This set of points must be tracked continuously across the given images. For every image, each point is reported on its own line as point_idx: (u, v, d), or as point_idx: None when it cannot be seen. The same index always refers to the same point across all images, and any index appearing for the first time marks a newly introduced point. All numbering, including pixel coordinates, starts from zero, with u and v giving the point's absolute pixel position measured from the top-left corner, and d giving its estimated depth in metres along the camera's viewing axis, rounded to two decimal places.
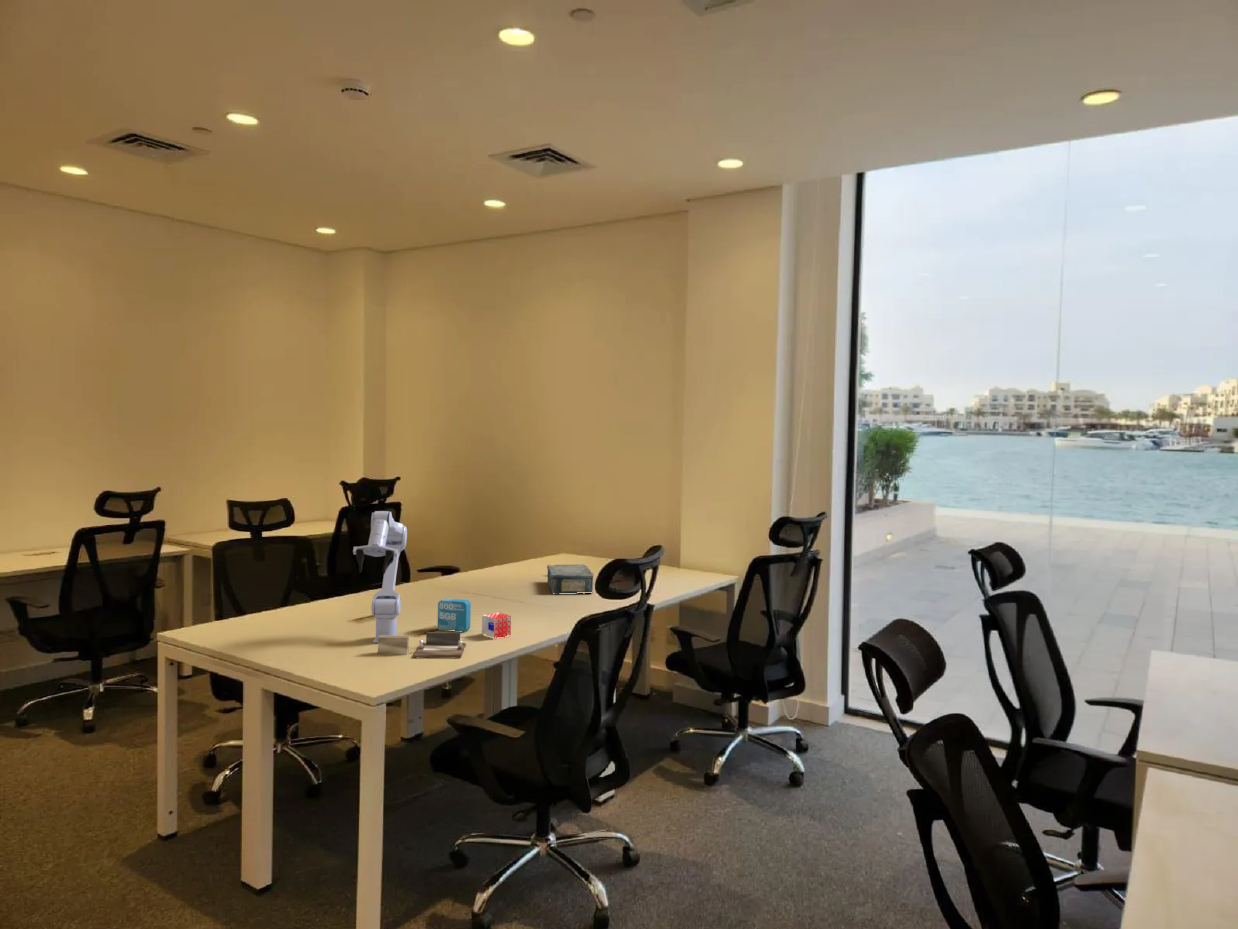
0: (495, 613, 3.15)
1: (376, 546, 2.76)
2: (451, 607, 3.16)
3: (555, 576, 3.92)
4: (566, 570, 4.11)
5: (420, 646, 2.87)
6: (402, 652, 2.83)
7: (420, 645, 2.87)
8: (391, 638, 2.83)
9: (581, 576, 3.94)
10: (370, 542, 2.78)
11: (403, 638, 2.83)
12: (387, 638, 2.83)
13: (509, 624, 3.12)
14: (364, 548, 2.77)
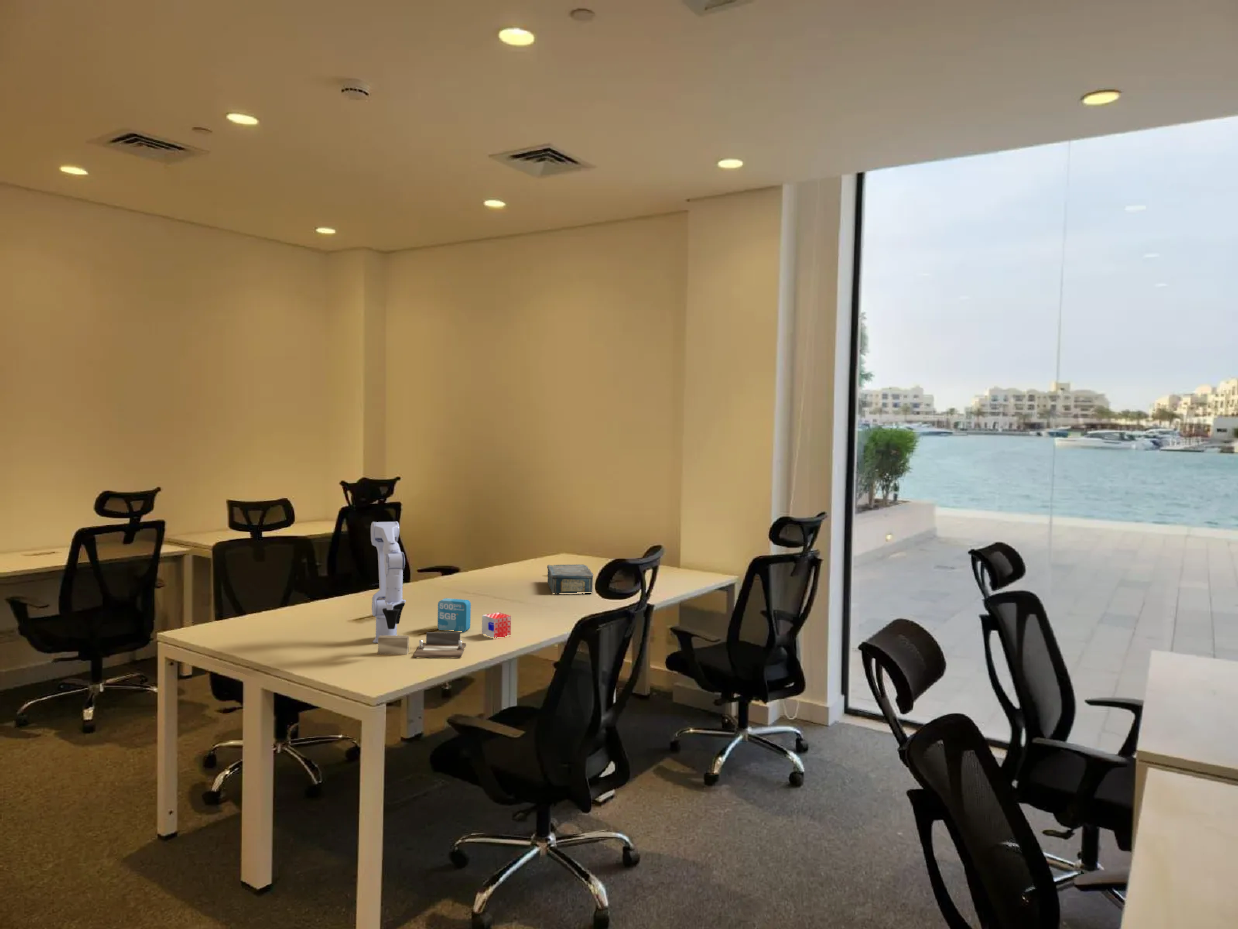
0: (495, 613, 3.15)
1: None
2: (451, 607, 3.16)
3: (555, 576, 3.92)
4: (566, 570, 4.11)
5: (420, 646, 2.87)
6: (402, 652, 2.83)
7: (420, 645, 2.87)
8: (391, 638, 2.83)
9: (581, 576, 3.94)
10: (398, 597, 2.82)
11: (403, 638, 2.83)
12: (387, 638, 2.83)
13: (509, 624, 3.12)
14: (395, 604, 2.80)
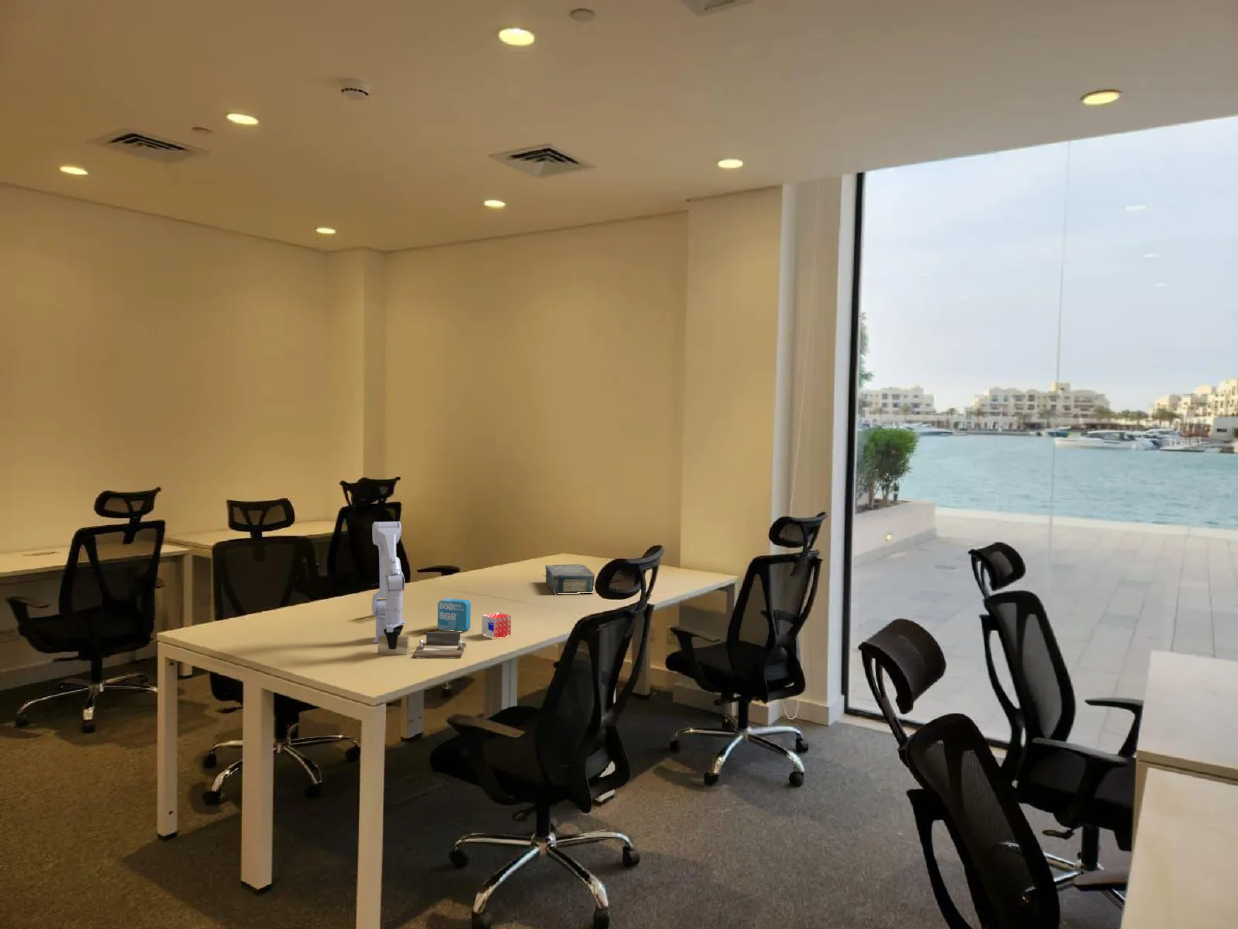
0: (495, 613, 3.15)
1: None
2: (451, 607, 3.16)
3: (557, 576, 3.92)
4: (566, 570, 4.11)
5: (420, 646, 2.87)
6: (402, 652, 2.83)
7: (420, 645, 2.87)
8: None
9: (583, 576, 3.94)
10: (398, 619, 2.82)
11: (403, 638, 2.83)
12: None
13: (509, 624, 3.12)
14: None
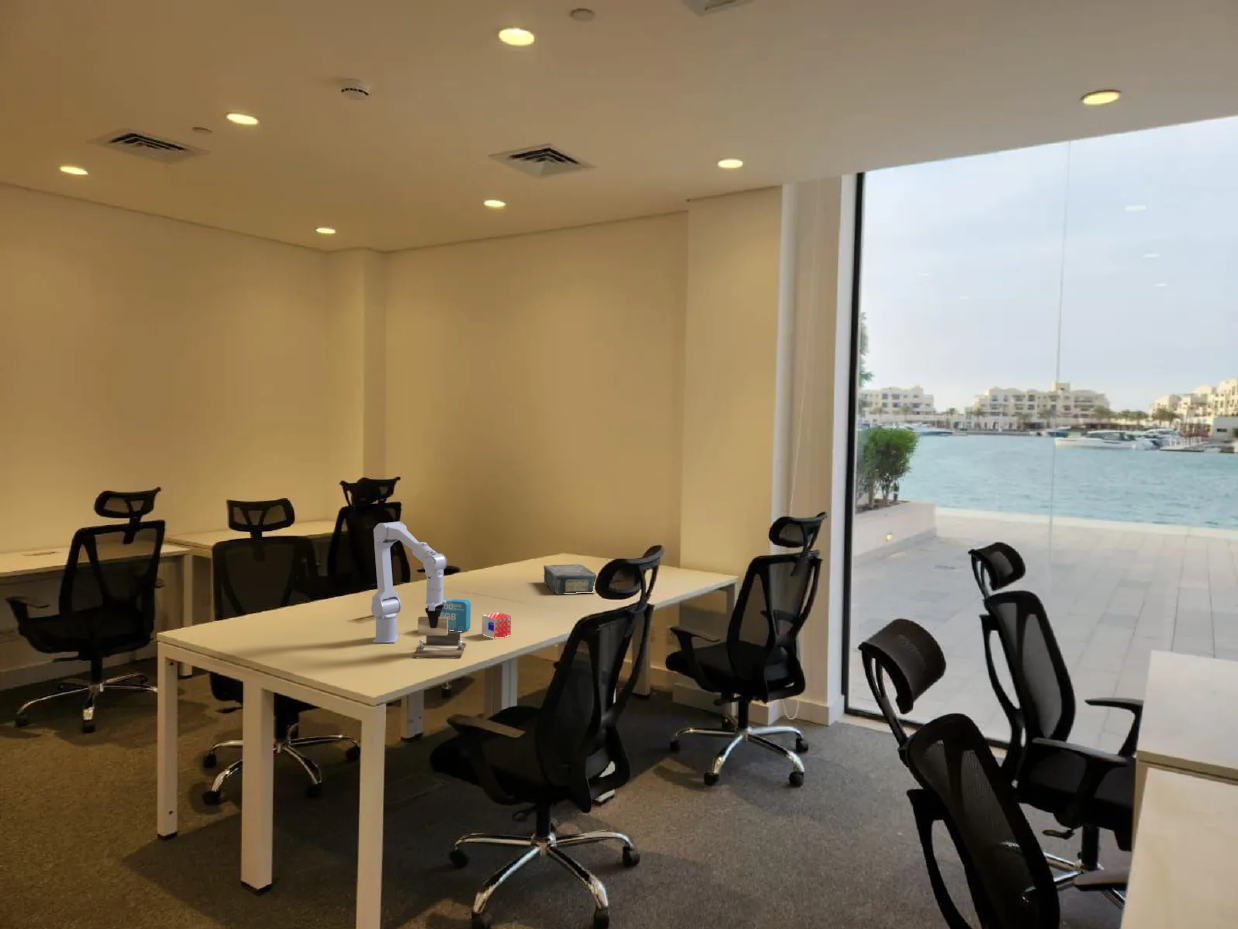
0: (495, 613, 3.15)
1: None
2: (451, 607, 3.16)
3: (559, 576, 3.91)
4: (565, 570, 4.10)
5: (420, 646, 2.87)
6: (442, 633, 2.86)
7: (420, 645, 2.87)
8: None
9: (585, 576, 3.95)
10: (439, 598, 2.85)
11: (443, 619, 2.86)
12: (427, 619, 2.85)
13: (509, 624, 3.12)
14: None
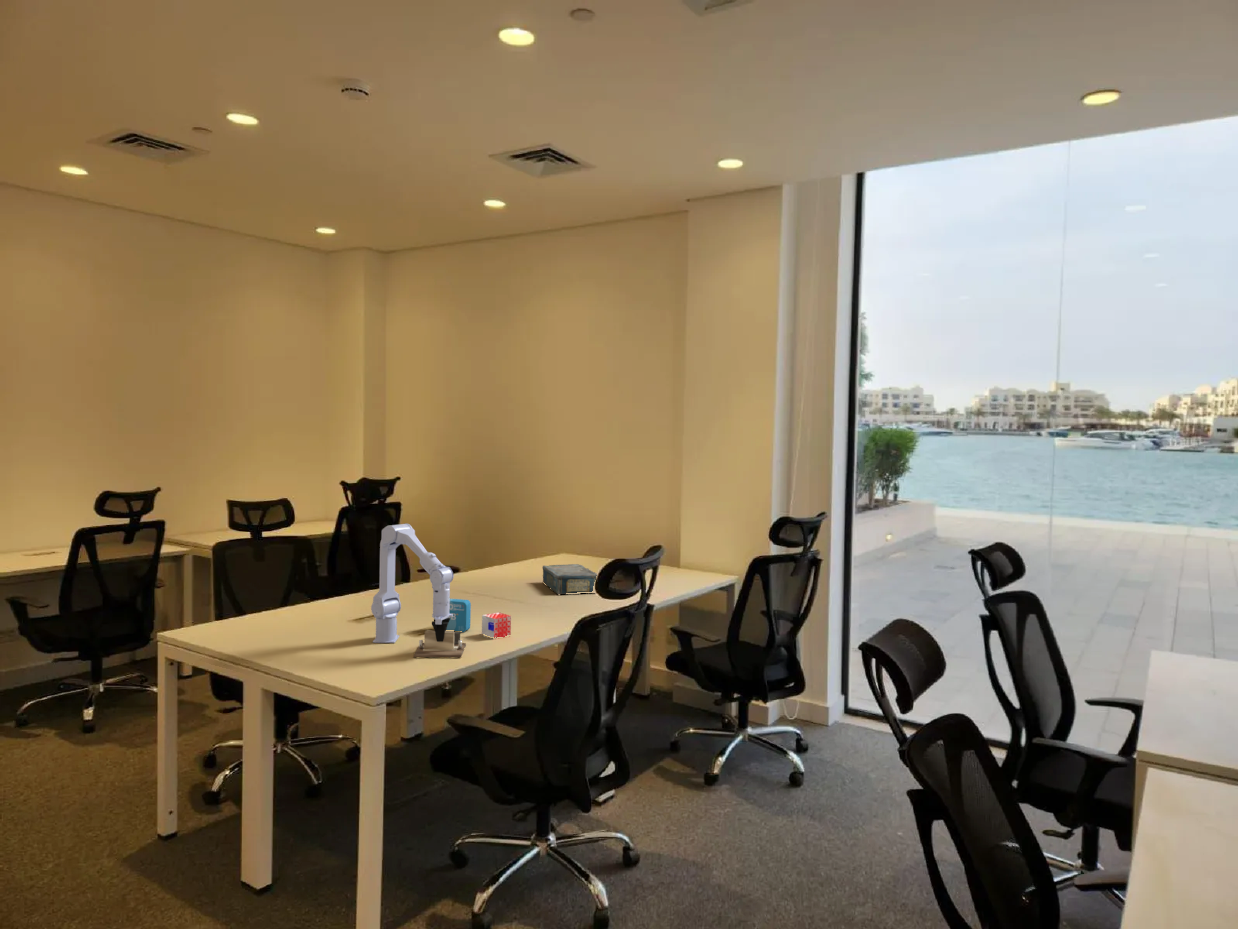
0: (495, 613, 3.15)
1: None
2: (451, 607, 3.16)
3: (561, 576, 3.91)
4: (565, 570, 4.10)
5: (420, 646, 2.87)
6: (448, 647, 2.87)
7: (420, 645, 2.87)
8: None
9: (586, 576, 3.95)
10: (446, 611, 2.86)
11: (449, 633, 2.86)
12: (433, 633, 2.86)
13: (509, 624, 3.12)
14: (443, 619, 2.84)
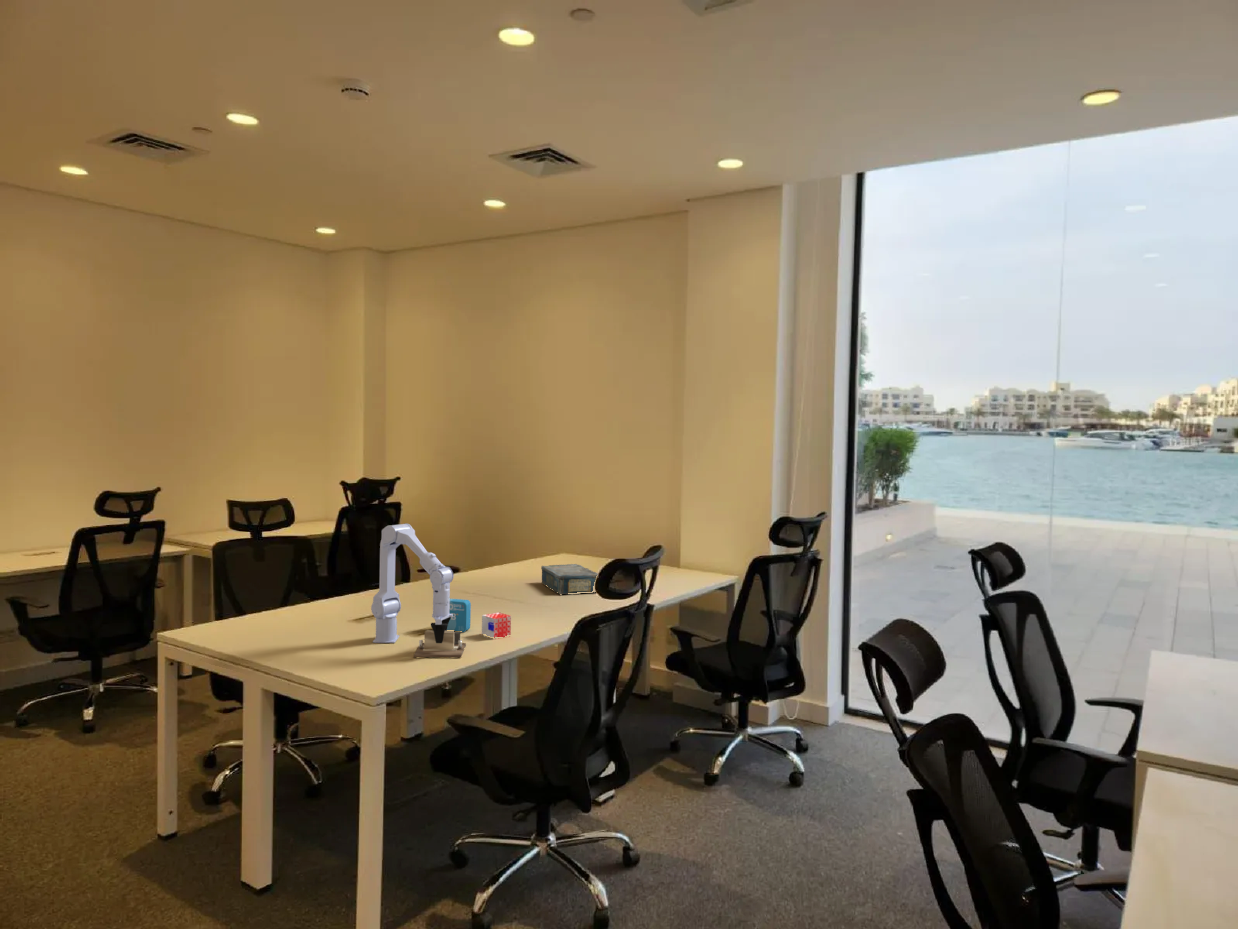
0: (495, 613, 3.15)
1: None
2: (451, 607, 3.16)
3: (562, 577, 3.91)
4: (565, 570, 4.10)
5: (420, 646, 2.87)
6: (448, 647, 2.87)
7: (420, 645, 2.87)
8: None
9: (587, 576, 3.95)
10: (446, 611, 2.86)
11: (449, 633, 2.86)
12: (433, 633, 2.86)
13: (509, 624, 3.12)
14: (443, 619, 2.84)
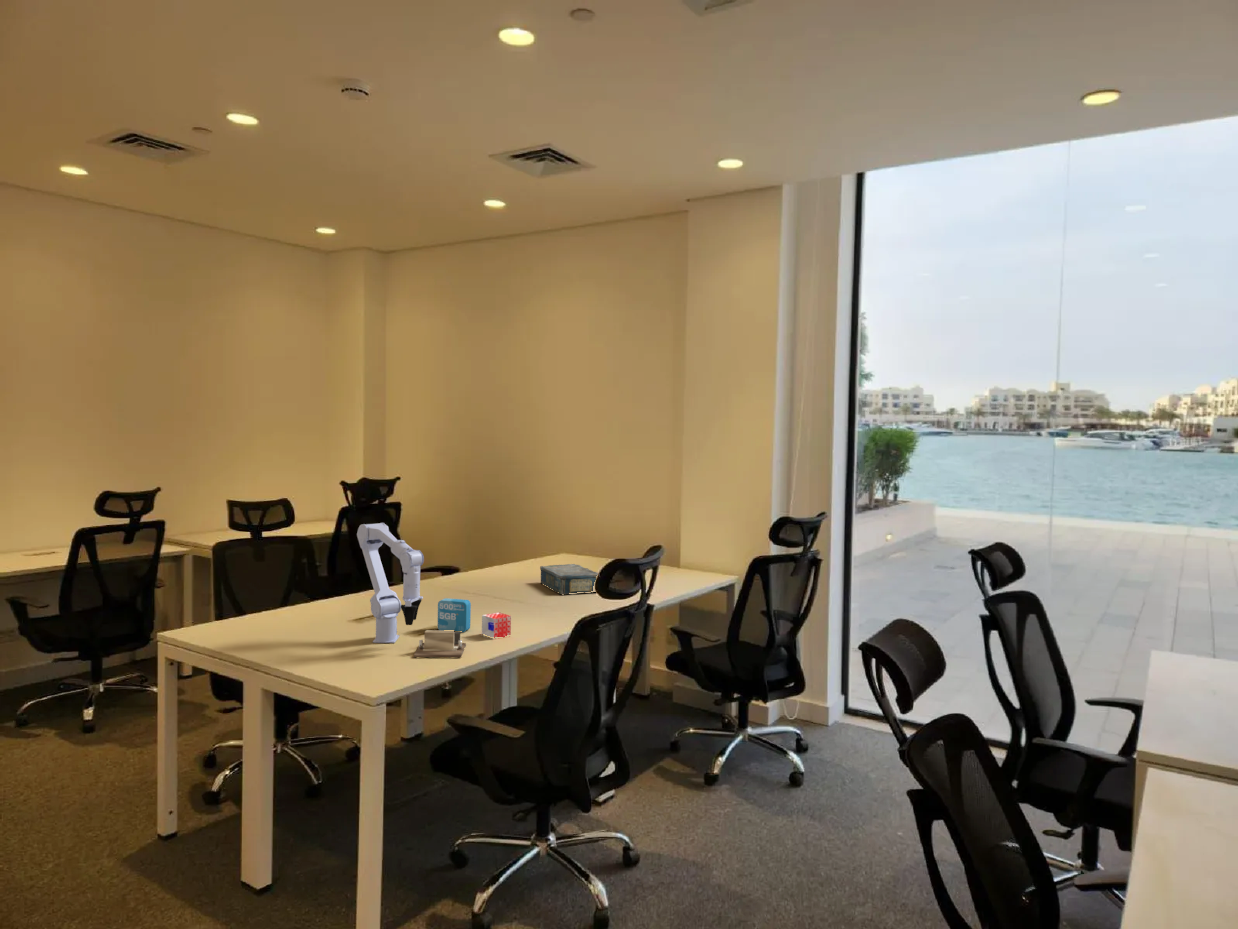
0: (495, 613, 3.15)
1: None
2: (451, 607, 3.16)
3: (564, 577, 3.91)
4: (565, 570, 4.10)
5: (420, 646, 2.87)
6: (448, 647, 2.87)
7: (420, 645, 2.87)
8: (437, 633, 2.86)
9: (588, 575, 3.96)
10: (416, 594, 2.89)
11: (449, 633, 2.86)
12: (433, 633, 2.86)
13: (509, 624, 3.12)
14: None
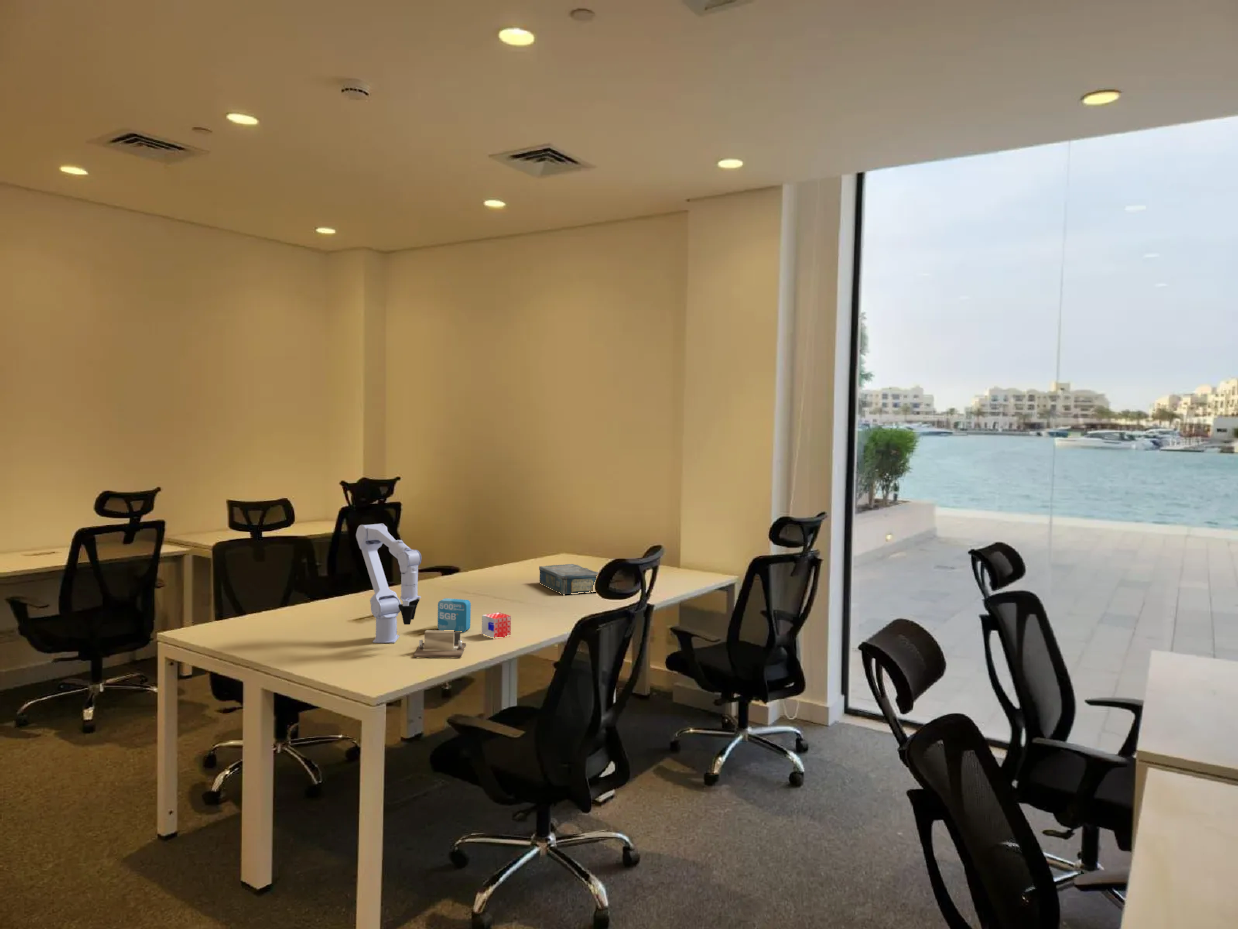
0: (495, 613, 3.15)
1: None
2: (451, 607, 3.16)
3: (566, 577, 3.91)
4: (565, 570, 4.10)
5: (420, 646, 2.87)
6: (448, 647, 2.87)
7: (420, 645, 2.87)
8: (437, 633, 2.86)
9: (590, 575, 3.96)
10: (414, 593, 2.89)
11: (449, 633, 2.86)
12: (433, 633, 2.86)
13: (509, 624, 3.12)
14: (411, 600, 2.88)
